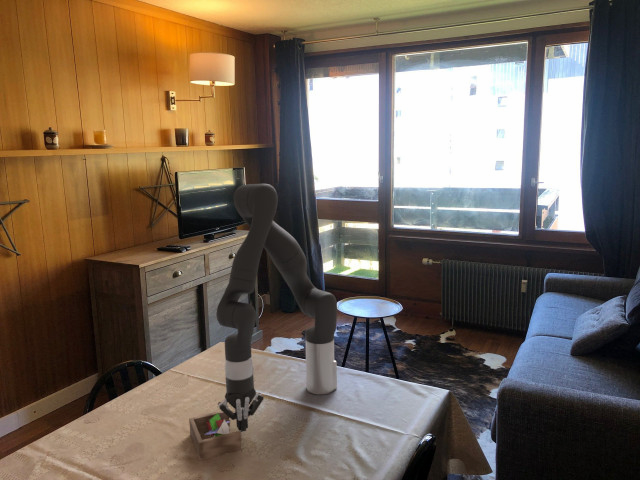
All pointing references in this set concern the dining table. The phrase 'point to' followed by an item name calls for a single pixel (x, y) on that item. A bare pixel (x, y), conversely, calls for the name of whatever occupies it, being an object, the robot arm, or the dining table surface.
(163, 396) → the dining table surface
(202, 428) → the box
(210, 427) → the geometric puzzle
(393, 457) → the dining table surface
